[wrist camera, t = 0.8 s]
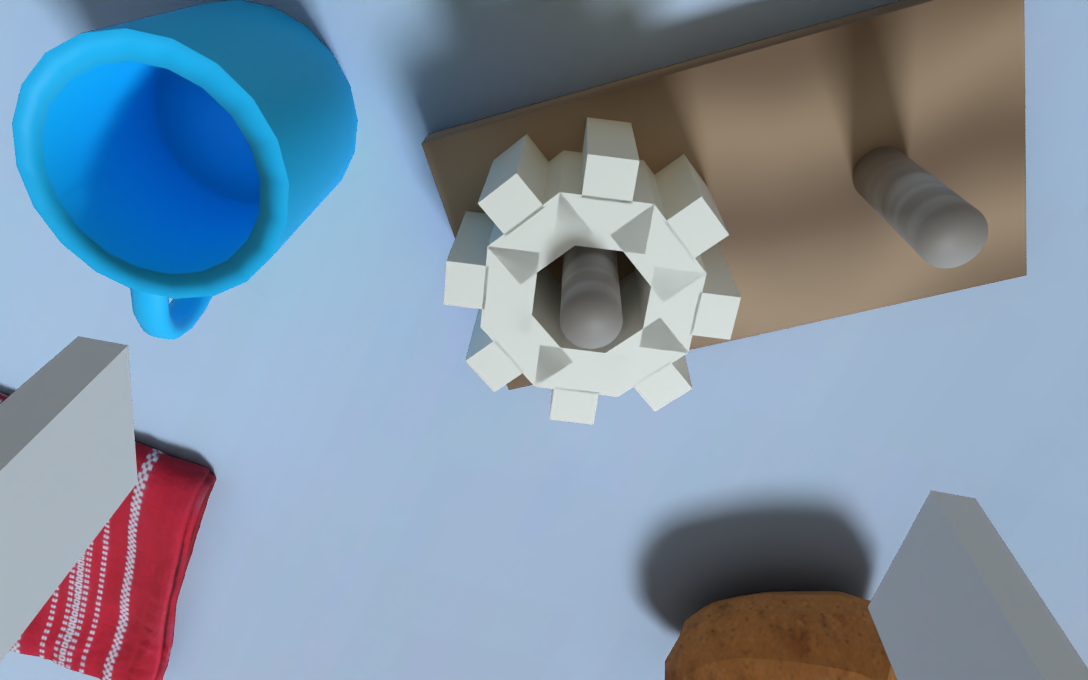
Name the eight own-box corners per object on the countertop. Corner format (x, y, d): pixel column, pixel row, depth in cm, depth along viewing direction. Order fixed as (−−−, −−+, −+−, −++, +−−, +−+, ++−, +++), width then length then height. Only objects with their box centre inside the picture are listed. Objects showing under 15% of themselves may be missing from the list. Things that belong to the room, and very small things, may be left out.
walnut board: (428, 134, 31) (382, 199, 24) (1002, -29, 27) (1147, -8, 20) (511, 372, 36) (493, 485, 29) (1008, 260, 32) (1126, 357, 25)
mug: (162, -38, 29) (20, -21, 21) (382, 49, 30) (317, 94, 22) (122, 253, 34) (-2, 345, 27) (309, 318, 35) (238, 423, 28)
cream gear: (412, 224, 31) (384, 275, 27) (617, 61, 28) (624, 89, 24) (567, 395, 35) (564, 466, 30) (765, 268, 31) (795, 326, 27)
